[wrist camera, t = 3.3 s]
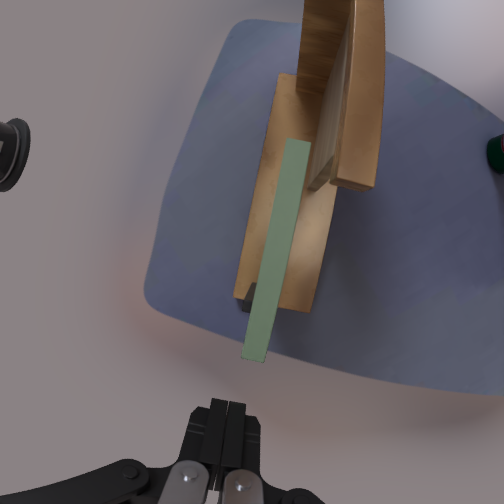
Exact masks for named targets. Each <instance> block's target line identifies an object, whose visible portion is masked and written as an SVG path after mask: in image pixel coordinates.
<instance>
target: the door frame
mask: <svg viewBox="0 0 504 504" xmlns="http://www.w3.org/2000/svg"><path fill="white" fill-rule="evenodd" d="M384 85H385V16H384V0H305V1H304V13H303V22H302V31H301V41H300V50H299V59H298V68H297V76H296V75H290V74H284V73H279V77H278V82H277V86H276V91H275V96H274V100H273V105H272V109H271V114H270V119H269V123H268V128H267V133H266V137H265V142H264V147H263V152H262V156H261V161H260V166H259V171H258V175H257V180H256V185H255V190H254V195H253V200H252V204H251V209H250V214H249V219H248V224H247V229H246V234H245V239H244V244H243V249H242V254H241V258H240V263H239V268H238V273H237V278H236V284H235V289H234V294H233V297H234V298H238V299H243V300H244V298H245V296H246V294H247V292H248V289H249V287H250V285H251V283H252V282H255V283H257V280H258V275H259V271H260V266H261V261H262V256H263V251H264V247H265V242H266V237H267V232H268V227H269V222H270V218H271V213H272V208H273V203H274V198H275V193H276V188H277V183H278V178H279V173H280V168H281V163H282V158H283V153H284V148H285V143H286V138H292V139H297V140H302V141H306V142H311V148H310V154H309V159H308V165H307V170H306V175H305V181H304V186H303V191H302V196H301V201H300V206H299V211H298V216H297V221H296V226H295V231H294V236H293V241H292V245H291V250H290V255H289V259H288V264H287V268H286V273H285V277H284V282H283V286H282V291H281V295H280V299H279V304H278V307H280V308H285V309H290V310H295V311H300V312H305V313H310V311H311V307H312V303H313V299H314V295H315V291H316V287H317V283H318V279H319V274H320V270H321V266H322V261H323V257H324V252H325V248H326V243H327V238H328V234H329V229H330V224H331V219H332V214H333V209H334V203H335V198H336V192H337V187H338V186H339V187H343V188H347V189H351V190H355V191H359V192H365V191H367V190H369V189H372V188H374V185H375V179H376V172H377V164H378V156H379V148H380V139H381V129H382V117H383V103H384Z"/></svg>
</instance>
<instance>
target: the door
mask: <svg viewBox="0 0 504 504" xmlns="http://www.w3.org/2000/svg"><path fill="white" fill-rule="evenodd" d="M310 148H311V142H306V141H302V140H297V139H292V138H286V143H285V148H284V153H283V158H282V163H281V168H280V173H279V178H278V183H277V188H276V193H275V198H274V203H273V208H272V213H271V218H270V222H269V227H268V232H267V237H266V242H265V247H264V251H263V256H262V261H261V266H260V271H259V275H258V280H257V283H255V282H252V283H251V285H250V287H249V289H248V292H247V294H246V296H245V298H244V300H243V305H242V311H244V312H248V313H250V317H249V322H248V327H247V331H246V336H245V341H244V345H243V350H242V355H241V358H243V359H247V360H252V361H257V362H261V363H264V361H265V357H266V353H267V349H268V345H269V341H270V337H271V333H272V329H273V325H274V320H275V316H276V312H277V308H278V304H279V299H280V295H281V291H282V286H283V282H284V277H285V273H286V268H287V264H288V259H289V255H290V250H291V245H292V241H293V236H294V231H295V226H296V221H297V216H298V211H299V206H300V201H301V196H302V191H303V186H304V181H305V175H306V170H307V165H308V159H309V154H310Z"/></svg>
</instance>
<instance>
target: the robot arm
mask: <svg viewBox="0 0 504 504" xmlns="http://www.w3.org/2000/svg"><path fill="white" fill-rule="evenodd" d="M20 149H21V133H20V130H19V129H18V127H16V126H14V125H9V124H6V123H3V122H0V184H1V183H3V182H5V181H6V180H7V179H8V178H9V177H10V175H11V174H12V172H13V170H14V168H15V166H16V164H17V161H18V158H19V154H20ZM227 406H228V401H226V400H220V399H215V398H212V400H211V405H210V409H208V408H203V407H199V406H198V407H197V408H196V409H195V410H194V411H193V412H192V413H191V415H190V419H189V423H188V426H187V429H186V433H185V436H184V440H183V443H182V447H181V450H180V454H179V457H178V459H177V461H176V462H175V463H174V464H172V465H170V466H168V467H164V468H146V466H145V465H143V464H142V463H141V462H139V461H137V460H134V459H122V460H119V461H117V462H114V463H112V464H109V465H107V466H104V467H101V468H99V469H96V470H93V471H91V472H88V473H85V474H82V475H79V476H76V477H73V478H70V479H67V480H64V481H60V482H57V483H54V484H51V485H47V486H43V487H40V488H35V489H31V490H27V491H22V492H18V493H13V494H8V495H2V496H0V504H204V503H205V502H206V498H207V494H208V490H213V486H214V482H215V478H216V482H215V488H214V491H219V499H218V503H217V504H325V503H324V502H323V501H321V500H320V499H319V498H318V497H317V496H316V495H314V494H313V493H312V492H310V491H309V490H306V489H302V488H295V489H291V490H289V491H285V490H282V489H278V488H275V487H273V486H271V485H269V484H268V483H266V482H265V481H264V480H263V479H262V477H261V475H260V428H261V426H260V424H259V422H258V420H257V418H256V417H255V416H248V415H245V411H246V404H243V403H238V402H232V401H230V402H229V406H228V410H227ZM226 413H227V415H226ZM216 474H217V475H216Z"/></svg>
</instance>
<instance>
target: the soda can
mask: <svg viewBox="0 0 504 504" xmlns="http://www.w3.org/2000/svg"><path fill="white" fill-rule="evenodd" d="M487 156H488V159H489V162H490V164H491V166H492V167H493V168H494V169H495V170H496V171H497V172H498V173H500V174H504V134H502V135H499V136H497V137H494V138H492V139H490V140H489V142H488V145H487Z"/></svg>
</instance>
